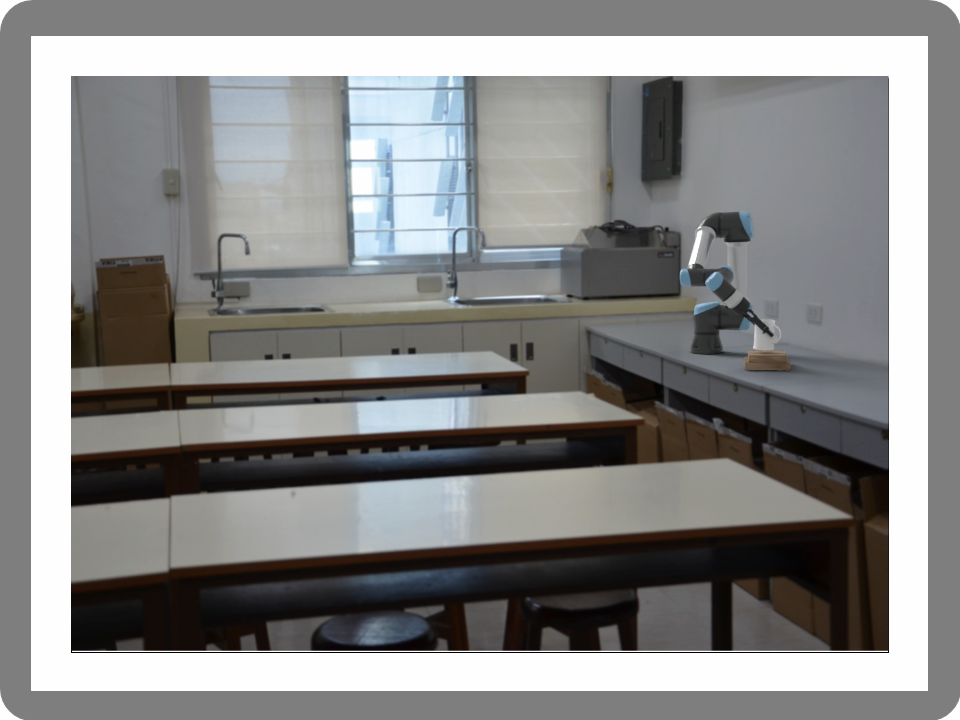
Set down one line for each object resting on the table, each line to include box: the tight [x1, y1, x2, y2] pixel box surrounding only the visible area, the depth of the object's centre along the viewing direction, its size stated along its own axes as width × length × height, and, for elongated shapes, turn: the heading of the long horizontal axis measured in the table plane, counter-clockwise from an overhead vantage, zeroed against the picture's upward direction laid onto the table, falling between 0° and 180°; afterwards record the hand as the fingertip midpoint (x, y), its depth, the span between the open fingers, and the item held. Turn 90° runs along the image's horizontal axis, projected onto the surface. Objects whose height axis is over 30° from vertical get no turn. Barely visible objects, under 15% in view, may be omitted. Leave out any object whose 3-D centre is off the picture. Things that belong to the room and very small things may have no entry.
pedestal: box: [743, 349, 792, 372], centre depth 400 cm, size 19×18×6 cm
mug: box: [752, 318, 782, 351], centre depth 398 cm, size 12×8×12 cm
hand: (775, 340), depth 399 cm, fingers closed on mug, 9 cm apart
